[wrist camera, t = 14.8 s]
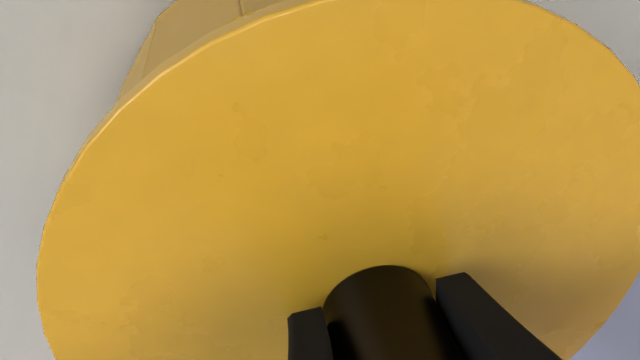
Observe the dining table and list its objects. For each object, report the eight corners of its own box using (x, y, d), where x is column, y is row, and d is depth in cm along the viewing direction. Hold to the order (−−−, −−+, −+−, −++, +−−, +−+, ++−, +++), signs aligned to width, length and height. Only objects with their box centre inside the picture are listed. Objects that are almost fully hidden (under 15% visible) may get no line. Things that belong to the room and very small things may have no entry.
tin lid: (750, 36, 10) (1057, 146, 7) (496, 419, 17) (577, 579, 13) (17, -115, 7) (-214, -58, 3) (68, 446, 13) (16, 674, 10)
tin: (545, -16, 16) (679, 41, 11) (421, 275, 22) (477, 385, 17) (124, -106, 12) (79, -74, 8) (121, 267, 19) (95, 400, 14)
